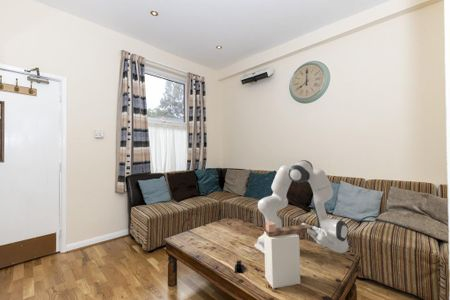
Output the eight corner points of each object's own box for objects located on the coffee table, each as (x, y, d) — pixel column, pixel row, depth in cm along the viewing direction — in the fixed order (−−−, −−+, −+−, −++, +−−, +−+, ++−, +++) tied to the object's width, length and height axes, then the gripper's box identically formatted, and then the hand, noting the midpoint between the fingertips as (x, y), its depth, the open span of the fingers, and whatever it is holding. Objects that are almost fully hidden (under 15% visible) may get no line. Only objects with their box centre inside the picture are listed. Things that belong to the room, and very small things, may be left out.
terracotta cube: (268, 232, 113) (268, 224, 113) (265, 229, 117) (265, 222, 117) (275, 231, 114) (275, 224, 114) (272, 228, 118) (272, 221, 118)
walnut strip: (269, 237, 113) (269, 232, 113) (265, 233, 117) (265, 229, 117) (312, 231, 118) (312, 226, 118) (307, 228, 123) (307, 224, 123)
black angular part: (234, 263, 136) (234, 256, 136) (245, 264, 135) (245, 257, 135) (232, 275, 124) (232, 267, 124) (245, 275, 123) (245, 268, 123)
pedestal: (272, 288, 110) (271, 239, 110) (265, 277, 120) (263, 231, 120) (300, 283, 114) (299, 235, 113) (290, 272, 124) (289, 228, 123)
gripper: (333, 250, 112) (313, 240, 109) (310, 235, 132) (292, 226, 129) (338, 239, 112) (318, 229, 110) (314, 225, 132) (296, 216, 130)
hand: (304, 227), depth 120 cm, fingers closed on walnut strip, 4 cm apart
